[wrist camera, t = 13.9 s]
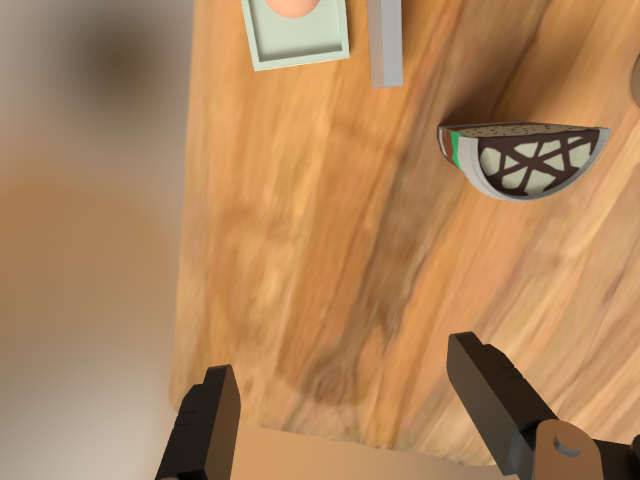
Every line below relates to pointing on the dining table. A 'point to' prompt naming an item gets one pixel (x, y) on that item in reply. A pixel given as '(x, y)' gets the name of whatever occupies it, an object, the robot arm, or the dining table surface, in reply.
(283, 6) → the ball
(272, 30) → the sage tray
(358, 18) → the dining table surface
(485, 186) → the food container
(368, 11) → the low wall
